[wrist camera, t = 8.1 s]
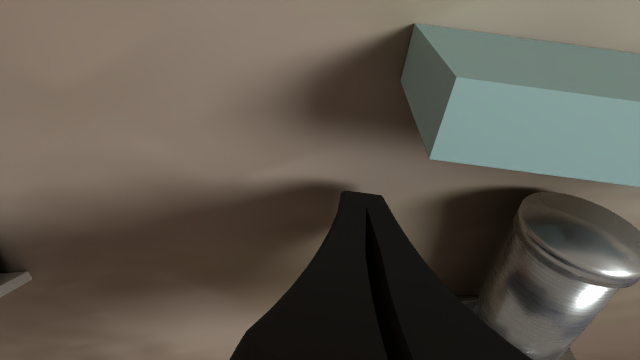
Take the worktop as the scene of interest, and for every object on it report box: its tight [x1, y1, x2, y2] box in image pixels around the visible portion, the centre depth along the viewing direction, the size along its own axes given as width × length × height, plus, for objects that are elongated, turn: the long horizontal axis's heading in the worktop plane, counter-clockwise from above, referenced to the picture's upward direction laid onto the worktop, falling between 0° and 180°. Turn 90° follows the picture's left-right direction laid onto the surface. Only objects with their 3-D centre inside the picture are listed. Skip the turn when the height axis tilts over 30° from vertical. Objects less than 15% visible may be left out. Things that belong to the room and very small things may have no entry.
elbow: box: [472, 192, 640, 360], centre depth 14 cm, size 14×7×4 cm, turn 175°
